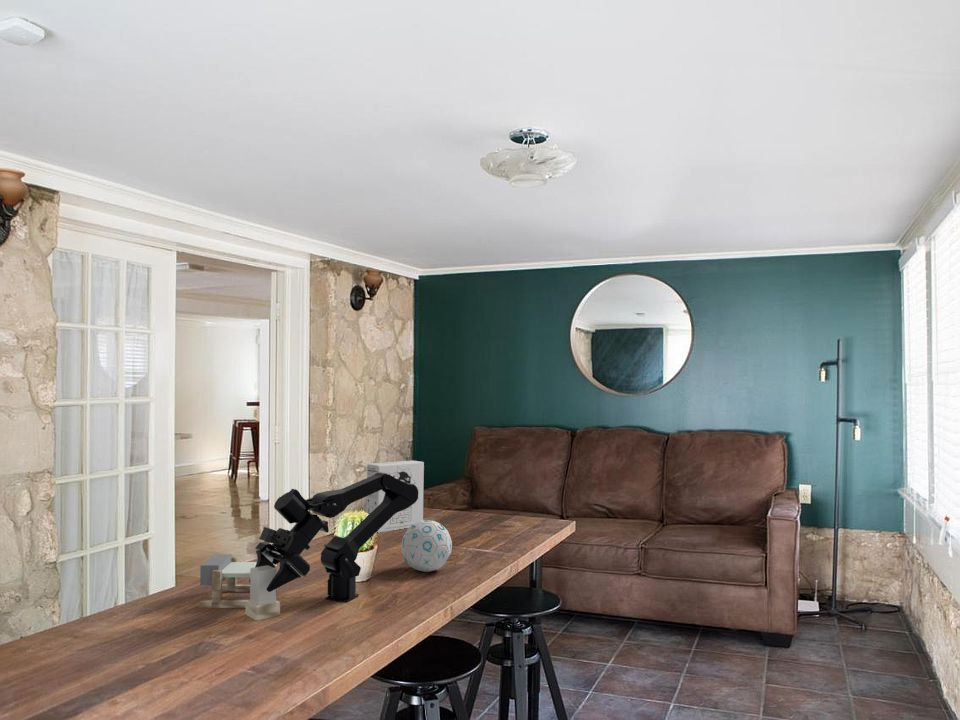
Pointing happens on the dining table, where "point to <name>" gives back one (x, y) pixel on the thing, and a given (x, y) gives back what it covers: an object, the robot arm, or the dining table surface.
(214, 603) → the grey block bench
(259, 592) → the grey tall block
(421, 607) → the dining table surface
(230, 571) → the trapdoor
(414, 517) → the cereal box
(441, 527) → the puzzle ball
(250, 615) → the stone riser
